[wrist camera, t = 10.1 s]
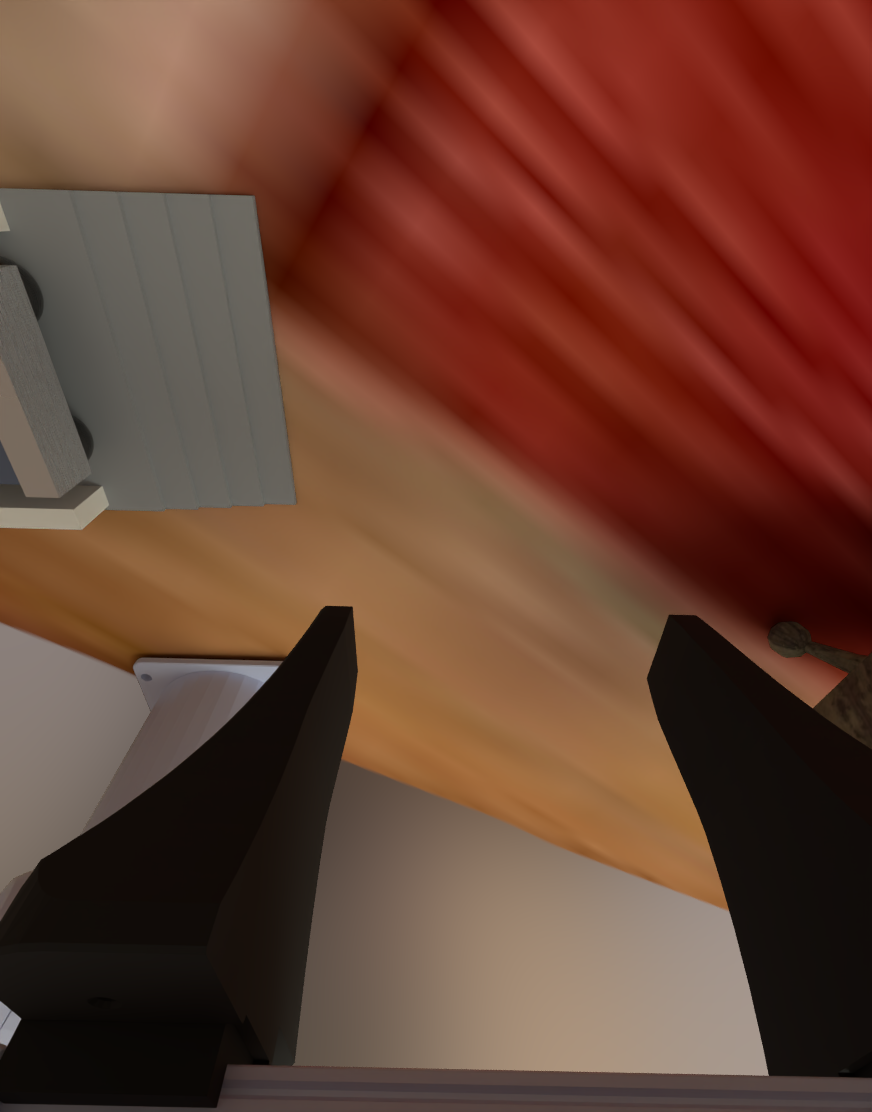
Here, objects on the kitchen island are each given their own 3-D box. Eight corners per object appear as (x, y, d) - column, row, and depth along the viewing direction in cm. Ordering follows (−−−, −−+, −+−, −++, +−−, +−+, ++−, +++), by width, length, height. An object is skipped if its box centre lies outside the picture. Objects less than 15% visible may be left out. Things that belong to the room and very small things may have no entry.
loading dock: (296, 502, 21) (273, 550, 18) (-106, 491, 21) (-195, 538, 18) (254, 195, 15) (210, 193, 12) (-295, 179, 15) (-469, 173, 12)
